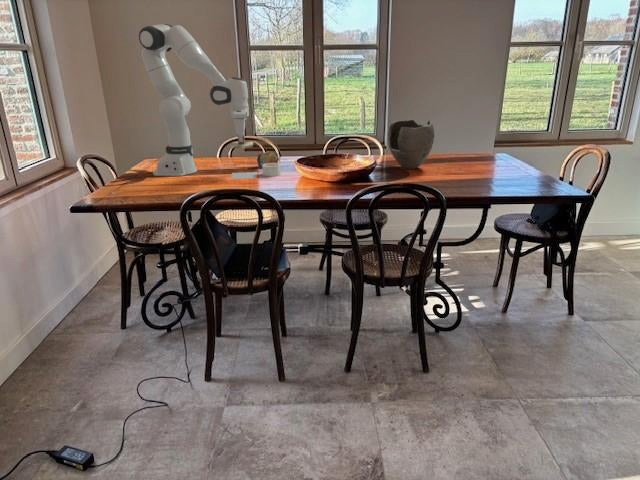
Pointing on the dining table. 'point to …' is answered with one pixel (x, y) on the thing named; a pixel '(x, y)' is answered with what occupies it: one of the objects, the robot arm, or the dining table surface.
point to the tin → (267, 158)
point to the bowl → (271, 169)
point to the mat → (244, 175)
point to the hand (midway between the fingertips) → (241, 141)
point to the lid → (241, 144)
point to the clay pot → (410, 142)
